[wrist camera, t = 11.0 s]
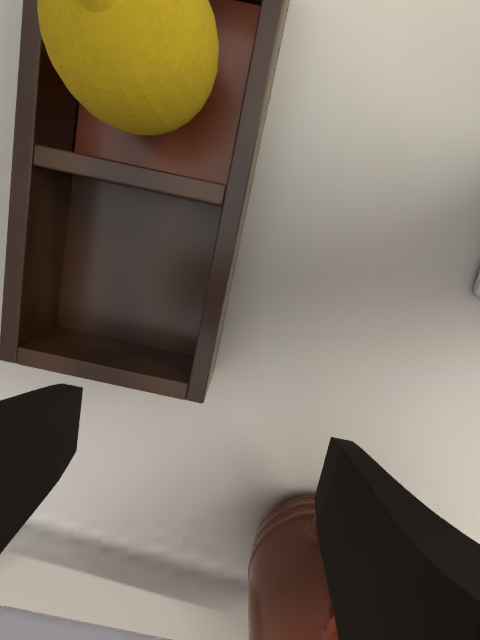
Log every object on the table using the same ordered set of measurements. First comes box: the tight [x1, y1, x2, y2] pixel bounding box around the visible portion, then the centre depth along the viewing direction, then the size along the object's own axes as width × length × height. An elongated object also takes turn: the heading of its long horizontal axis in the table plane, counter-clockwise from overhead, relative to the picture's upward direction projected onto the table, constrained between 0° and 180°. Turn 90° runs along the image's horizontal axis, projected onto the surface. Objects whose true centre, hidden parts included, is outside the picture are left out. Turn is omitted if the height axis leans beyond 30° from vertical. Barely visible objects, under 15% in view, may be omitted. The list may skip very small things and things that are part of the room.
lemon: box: [37, 0, 219, 135], centre depth 14 cm, size 6×6×8 cm
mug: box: [248, 495, 338, 640], centre depth 18 cm, size 12×9×10 cm
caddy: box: [0, 0, 290, 403], centre depth 18 cm, size 9×17×4 cm, turn 168°
